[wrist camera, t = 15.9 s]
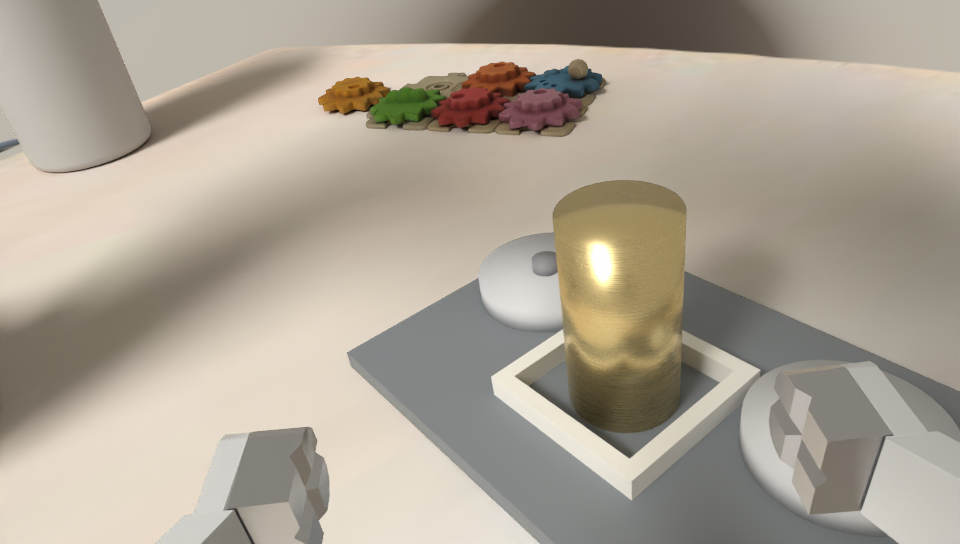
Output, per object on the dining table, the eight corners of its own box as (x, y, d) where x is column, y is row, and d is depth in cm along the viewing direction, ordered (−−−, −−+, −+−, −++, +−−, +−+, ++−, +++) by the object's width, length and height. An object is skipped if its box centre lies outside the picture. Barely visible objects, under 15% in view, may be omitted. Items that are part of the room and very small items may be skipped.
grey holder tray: (351, 365, 39) (337, 321, 37) (575, 235, 47) (573, 194, 45) (773, 762, 21) (785, 713, 19) (1016, 436, 29) (1040, 381, 27)
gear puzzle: (291, 131, 73) (280, 94, 71) (368, 79, 85) (360, 46, 83) (569, 144, 61) (566, 100, 59) (614, 81, 73) (613, 43, 71)
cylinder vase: (171, 140, 74) (64, -121, 61) (52, 186, 68) (-99, -96, 54) (131, 120, 82) (28, -115, 69) (20, 159, 76) (-118, -92, 62)
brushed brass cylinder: (553, 417, 32) (533, 237, 26) (588, 347, 36) (577, 175, 30) (665, 445, 30) (669, 255, 24) (690, 366, 33) (698, 186, 28)
